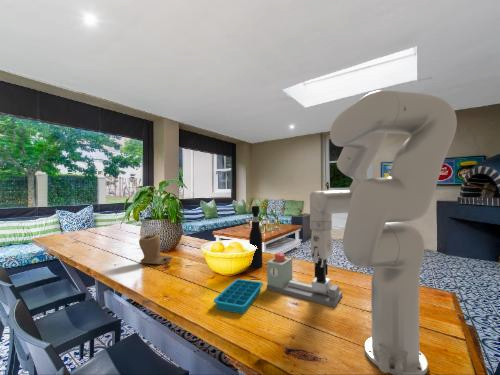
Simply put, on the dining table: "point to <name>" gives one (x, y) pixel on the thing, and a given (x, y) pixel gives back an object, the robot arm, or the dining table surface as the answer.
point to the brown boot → (152, 250)
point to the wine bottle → (256, 239)
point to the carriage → (321, 282)
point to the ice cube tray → (238, 295)
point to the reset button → (280, 257)
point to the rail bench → (307, 294)
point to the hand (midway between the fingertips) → (321, 275)
